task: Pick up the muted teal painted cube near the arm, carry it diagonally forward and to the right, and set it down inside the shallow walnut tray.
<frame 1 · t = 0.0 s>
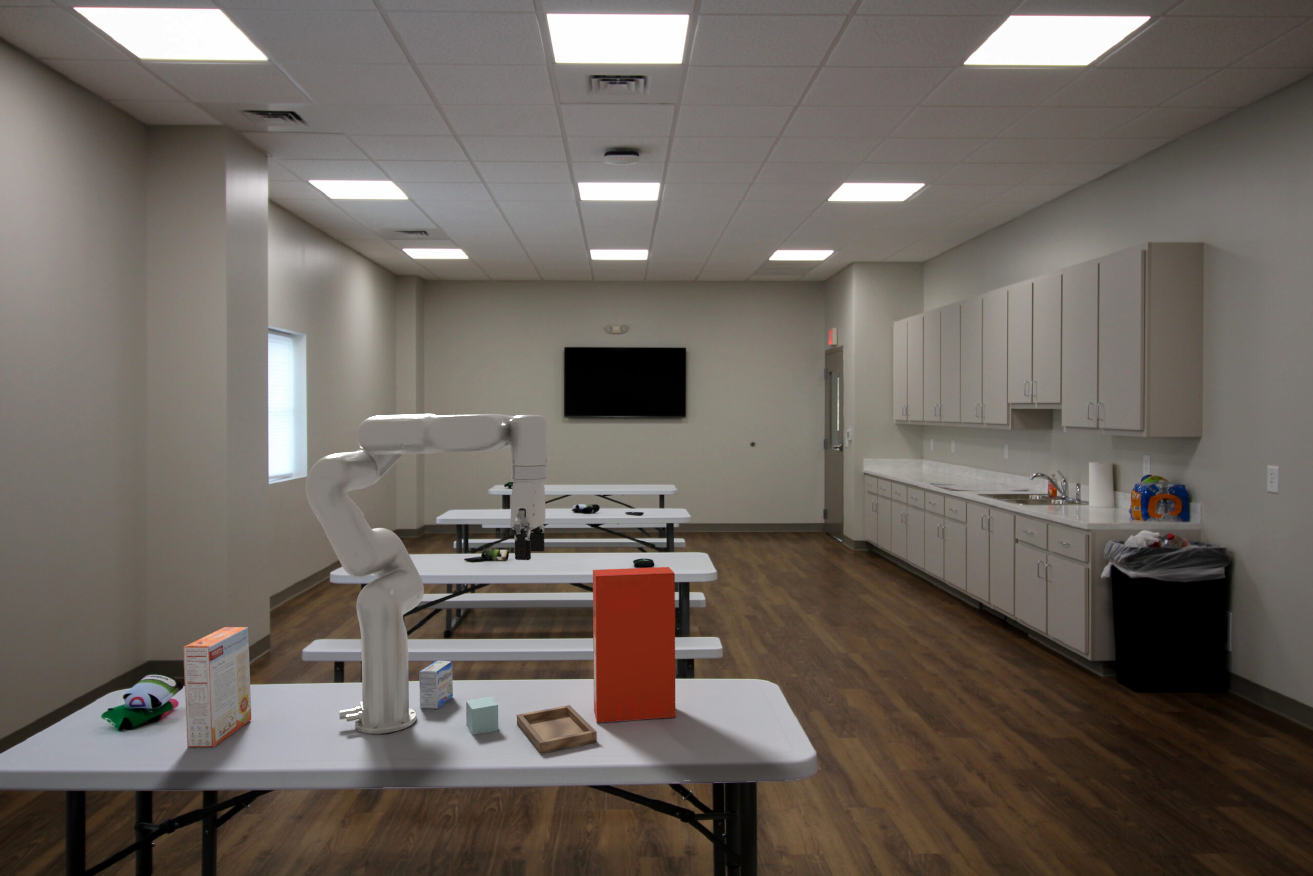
hand: (530, 555, 161), 37 cm above the table, tool pointing down, fingers open, 9 cm apart
tall orange-red block: (634, 714, 171), on the table
cracker box: (219, 734, 161), on the table
teal cube: (482, 728, 164), on the table
medicine box: (436, 703, 178), on the table
walnut tray: (555, 733, 161), on the table
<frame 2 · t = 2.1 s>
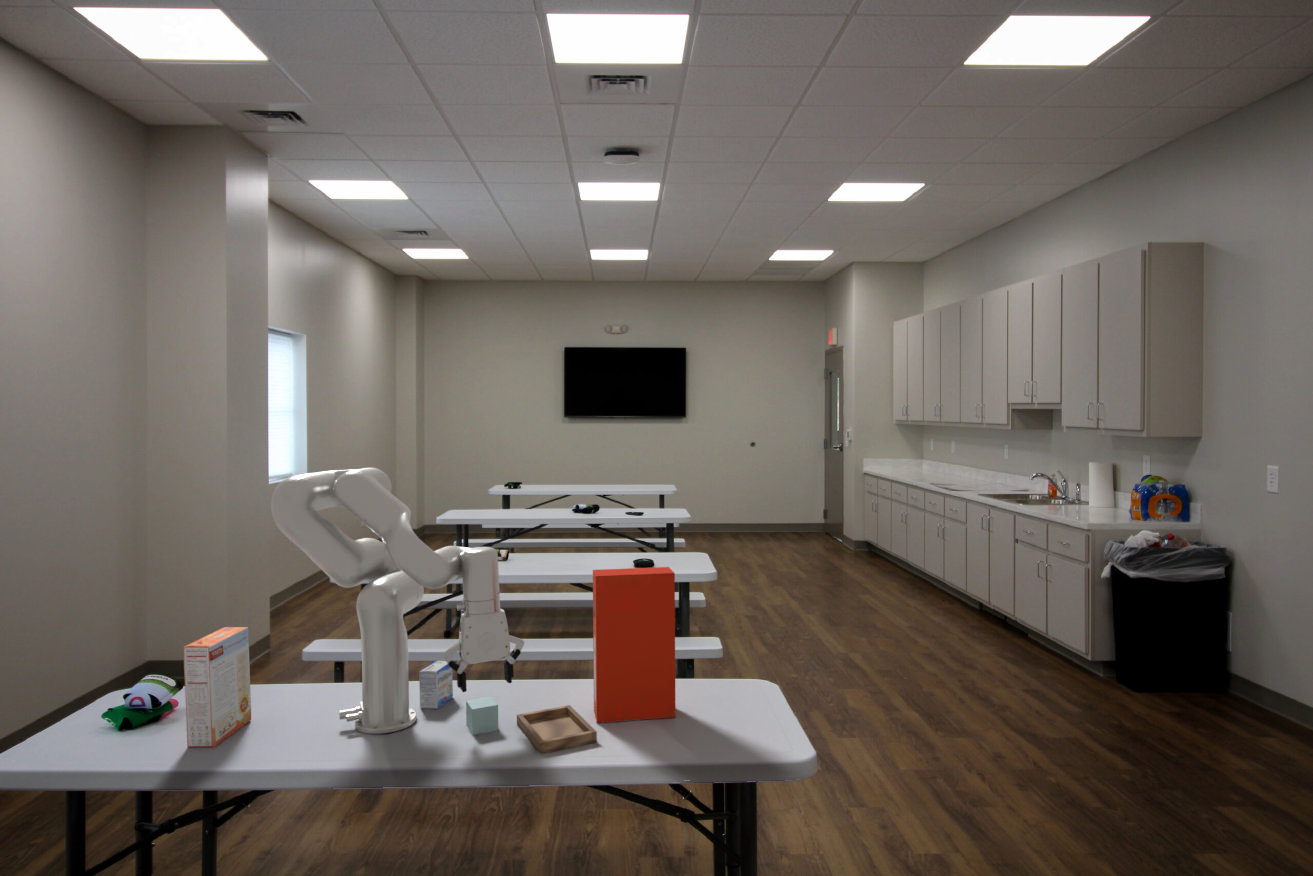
hand: (486, 685, 164), 9 cm above the table, tool pointing down, fingers open, 9 cm apart
nothing on the table moved.
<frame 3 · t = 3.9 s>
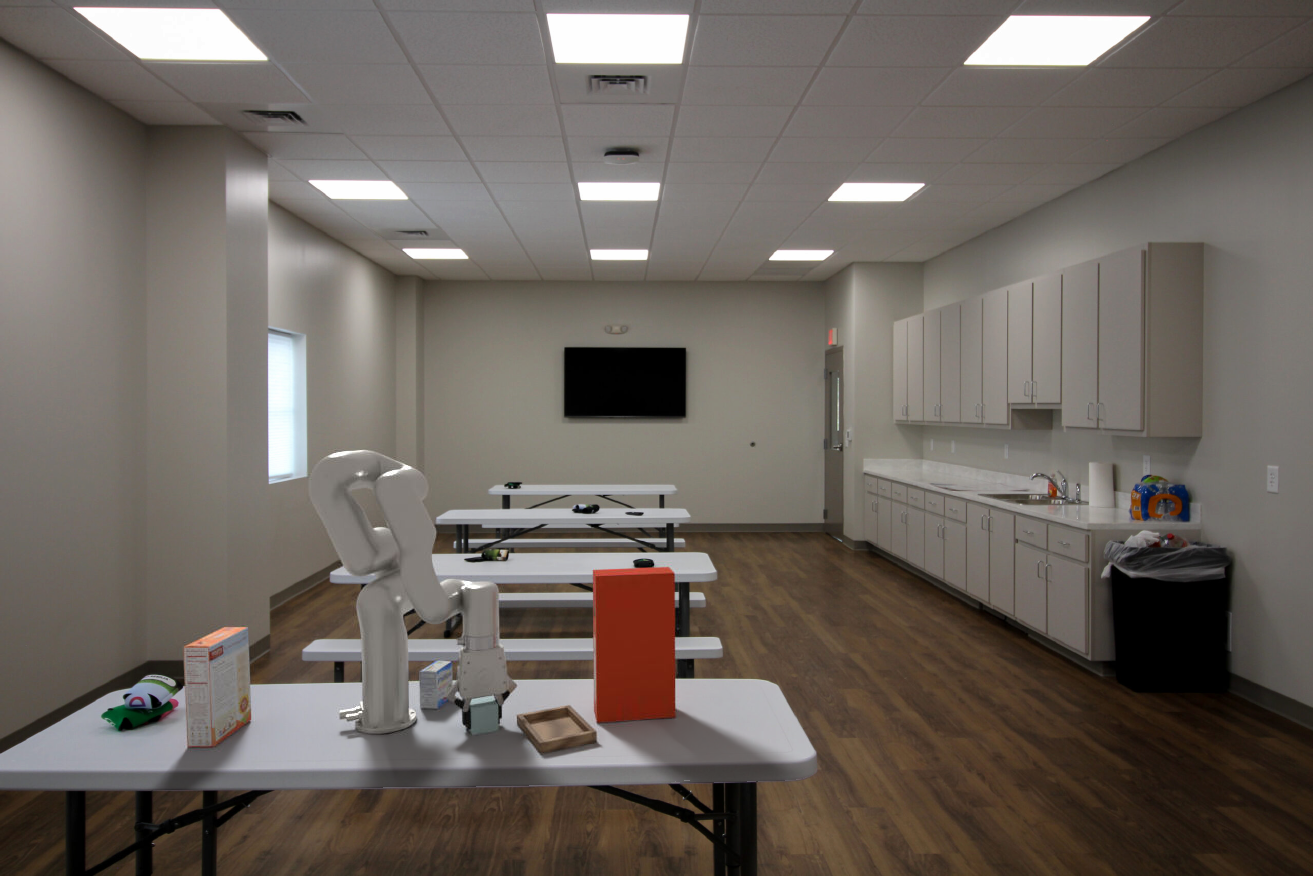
hand: (482, 724, 164), 1 cm above the table, tool pointing down, fingers closed on teal cube, 5 cm apart
teal cube: (482, 727, 164), on the table, touching gripper
everything else where it was.
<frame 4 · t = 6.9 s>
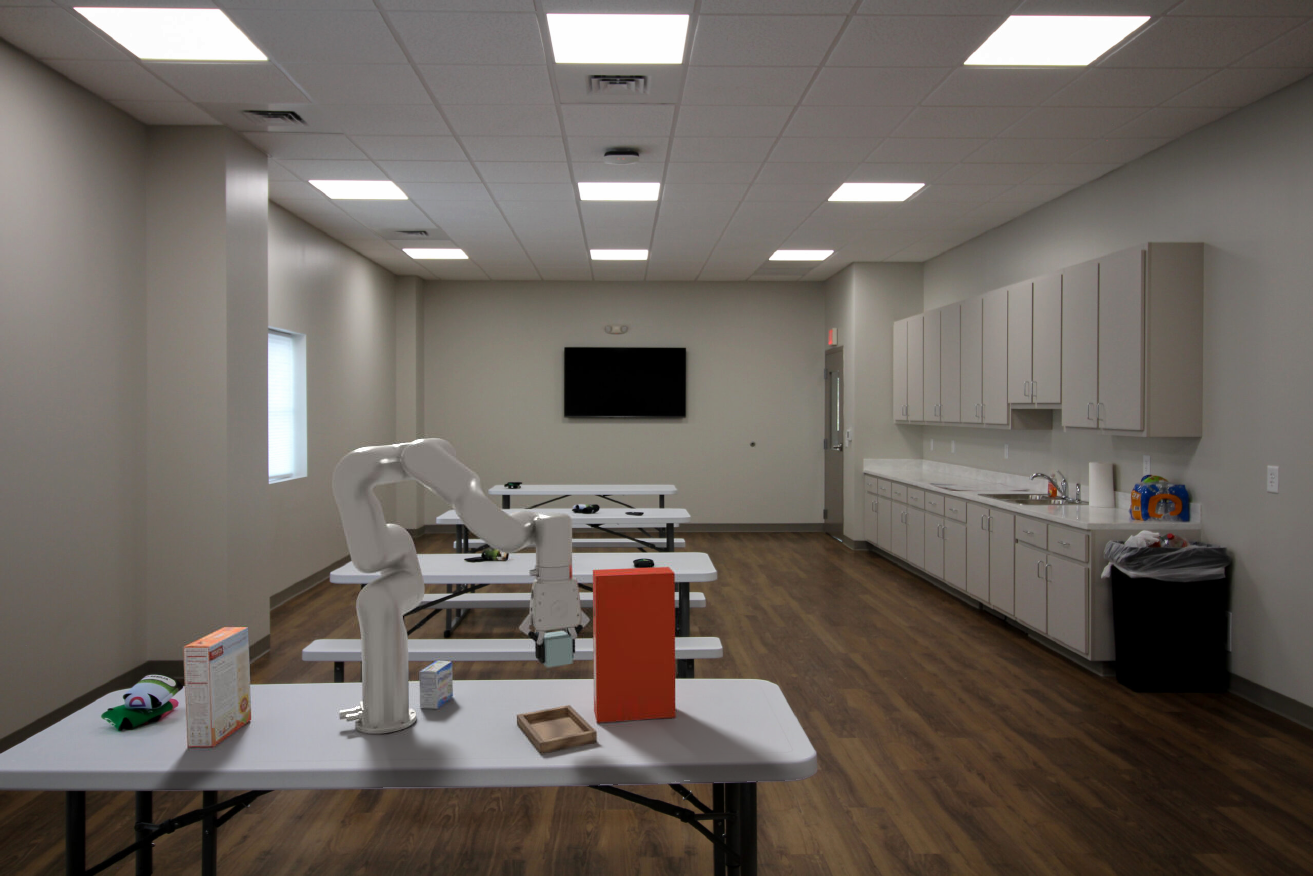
hand: (555, 658, 160), 16 cm above the table, tool pointing down, fingers closed on teal cube, 5 cm apart
teal cube: (555, 661, 160), point 15 cm above the table, touching gripper
everything else where it was.
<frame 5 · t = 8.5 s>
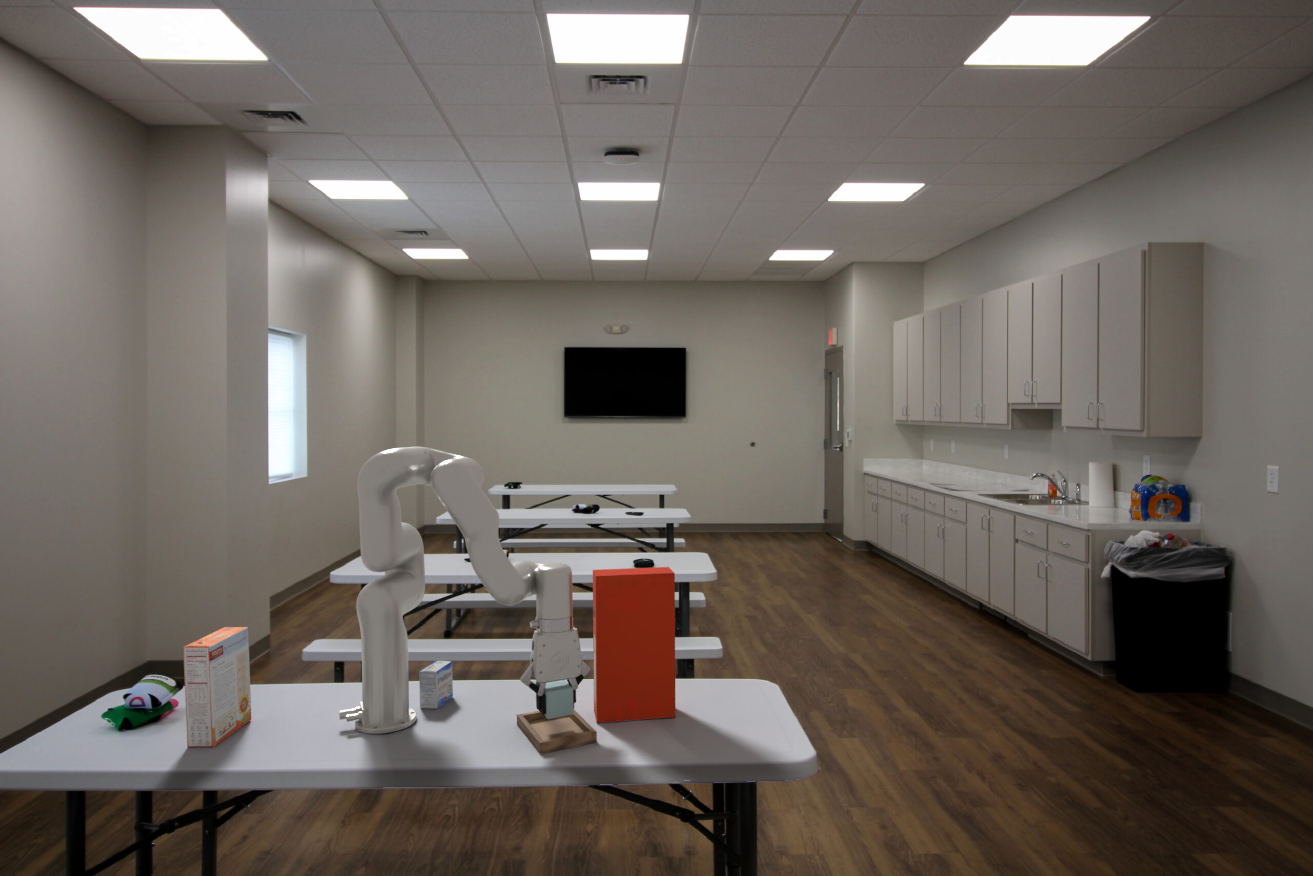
hand: (556, 708, 161), 5 cm above the table, tool pointing down, fingers closed on teal cube, 5 cm apart
teal cube: (556, 712, 161), point 5 cm above the table, touching gripper
everything else where it was.
when the fingers open (3 cm above the table, at t = 9.9 s): teal cube drops 1 cm, resting on walnut tray.
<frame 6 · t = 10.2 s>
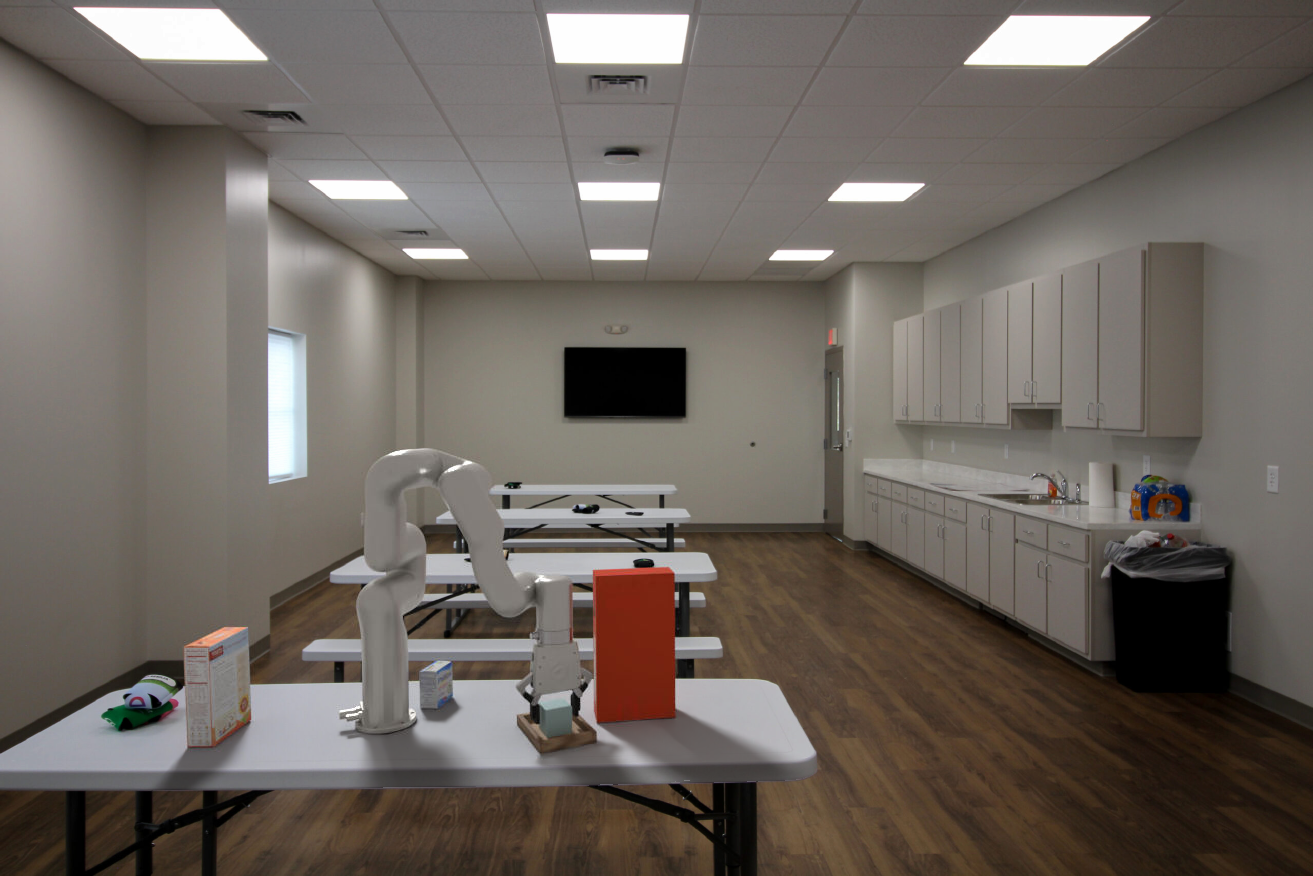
hand: (555, 718, 161), 3 cm above the table, tool pointing down, fingers open, 8 cm apart
teal cube: (555, 730, 161), point 1 cm above the table, touching walnut tray
everything else where it was.
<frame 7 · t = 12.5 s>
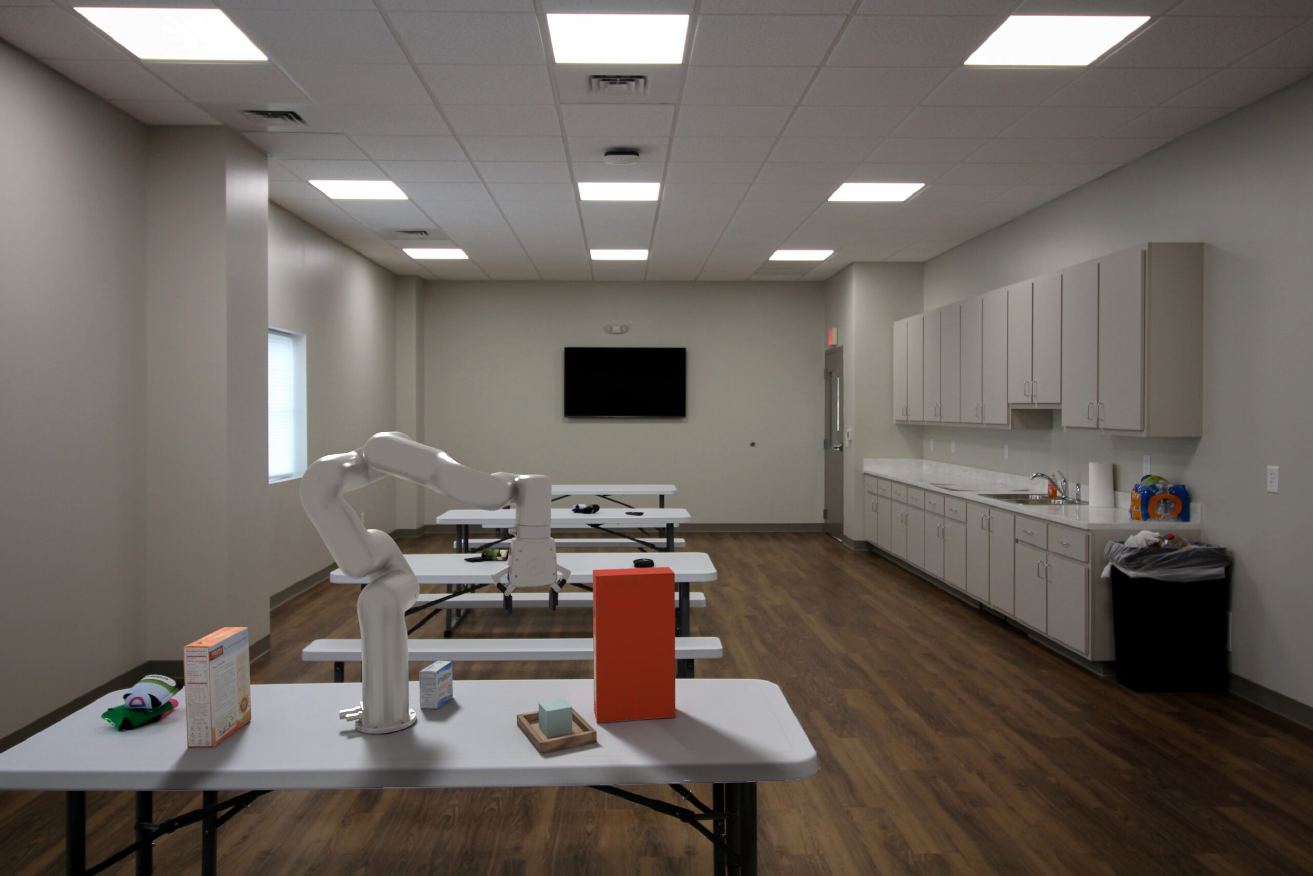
hand: (530, 611, 165), 24 cm above the table, tool pointing down, fingers open, 9 cm apart
nothing on the table moved.
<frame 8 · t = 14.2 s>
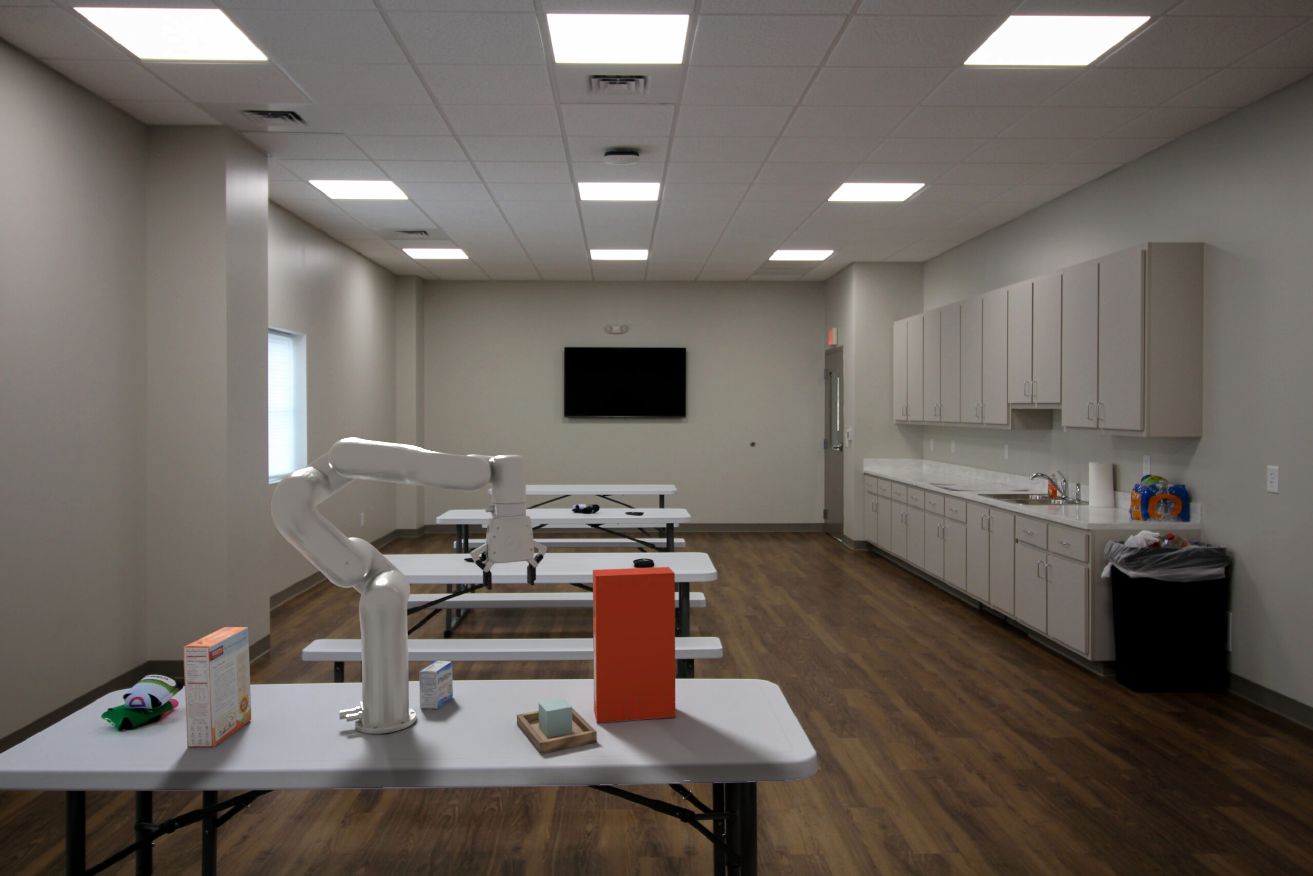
hand: (509, 586, 172), 28 cm above the table, tool pointing down, fingers open, 9 cm apart
nothing on the table moved.
at the end: teal cube inside the target area on the walnut tray (0.1 cm from its centre), point 0.6 cm above the walnut tray's base; the gripper is holding nothing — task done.
